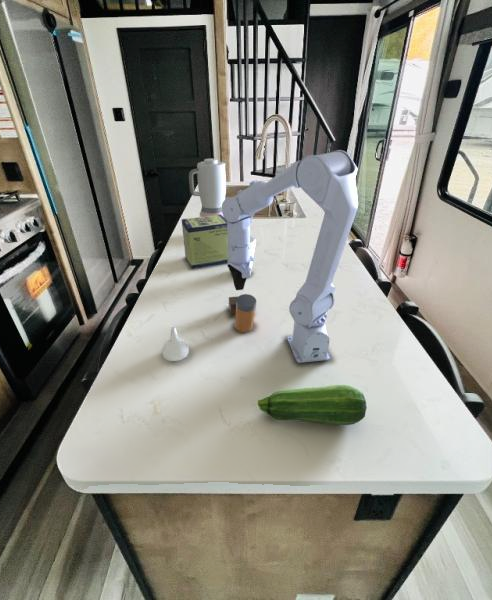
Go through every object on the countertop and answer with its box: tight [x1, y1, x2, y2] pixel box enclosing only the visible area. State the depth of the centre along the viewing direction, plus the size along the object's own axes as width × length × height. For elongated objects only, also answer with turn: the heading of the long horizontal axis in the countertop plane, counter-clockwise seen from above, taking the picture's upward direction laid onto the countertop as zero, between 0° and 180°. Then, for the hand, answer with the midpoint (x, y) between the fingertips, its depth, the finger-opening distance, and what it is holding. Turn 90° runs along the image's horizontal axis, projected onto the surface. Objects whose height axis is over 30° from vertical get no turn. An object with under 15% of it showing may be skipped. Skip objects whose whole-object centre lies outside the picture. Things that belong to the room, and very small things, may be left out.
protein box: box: [181, 214, 228, 270], centre depth 118 cm, size 10×16×16 cm
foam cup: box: [227, 234, 257, 275], centre depth 109 cm, size 10×9×13 cm
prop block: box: [228, 295, 240, 317], centre depth 91 cm, size 4×6×4 cm, turn 98°
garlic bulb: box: [161, 325, 190, 362], centre depth 75 cm, size 6×6×8 cm
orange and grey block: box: [234, 293, 257, 333], centre depth 83 cm, size 9×5×10 cm
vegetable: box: [257, 384, 368, 426], centre depth 60 cm, size 7×7×20 cm
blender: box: [188, 158, 227, 217], centre depth 133 cm, size 16×12×32 cm
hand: (239, 288), depth 90 cm, fingers closed
